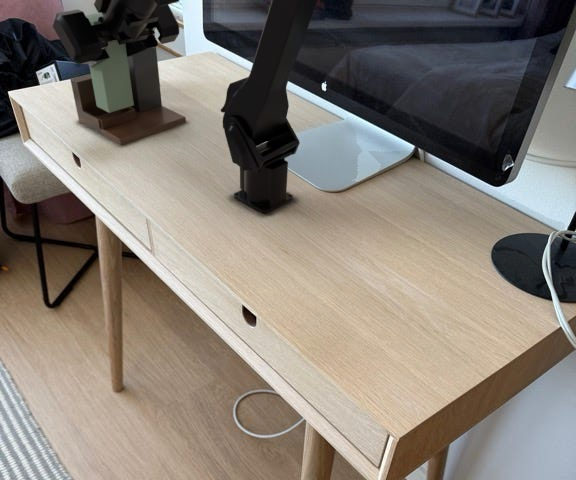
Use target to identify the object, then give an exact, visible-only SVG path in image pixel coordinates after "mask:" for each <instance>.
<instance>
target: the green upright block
mask: <svg viewBox="0 0 576 480" xmlns="http://www.w3.org/2000/svg"><path fill="white" fill-rule="evenodd" d="M85 16H86V18H88V19H89V21H90V23H91V25H96V24H99V23H98V21H97V19H98V17H103V15H102V13H98V12H97V13H92V14H86V15H85ZM105 50H106V51H107V53H108V55H109V57H110V58H109V59H107V60H105V61H103V62H101V63H99V64H98V65H96V66H93V67H90V66H89V65H88V66H89V71H90V74H91V78H92V83H93V88H94V94H95V99H96V105H97V107H99V108H101V109H103V110H105V111H107V112H108V113H110V112H114V111H117V110H120V109H123V108H127V107H130V106H133V105H134V103H133V95H132V88H131V81H130V74H129V66H128V59H127V52H126V45H125V44H122V45H119V43H118V42H117V41H115V42H110V43H108V47H107V48H106V49H105Z"/></svg>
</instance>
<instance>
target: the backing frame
mask: <svg viewBox="0 0 576 480" xmlns="http://www.w3.org/2000/svg"><path fill="white" fill-rule="evenodd" d="M153 31H154V32H155V30H153ZM154 36H155V37H156V33H155V34H154ZM127 59H128V66H129V74H130V81H131V88H132V95H133V103H134V105H133V106H130V107H127V108H123V109H120V110H117V111H114V112H110V113H108V112H107V111H105V110H103V109H101V108H99V107H97V105H96V99H95V94H94V88H93V83H92V78H91V73H88V74H84V75H80V76H76V77H72V78H70V79H69V80H70V85H71V89H72V95H73V99H74V104H75V108H76V114H77V118H78V122H79V123H80V124H82V125H84V126H86V127H88V128H90V130H93V131H95V132H97V133H99V134H100V135H102V136H104V137H106V138H108V139H109V140H111V141H113V142H115V143H117V144H118V145H120V146H123V145H125V144H127V143H131V142H134V141H137V140H139V139H143V138H145V137H148V136H151V135H154V134H157V133H159V132H163V131H165V130H168V129H171V128H174V127H177V126H180V125H183V124H186V123H187V117H186V116H184V115H182V114H181V113H178V112H176V111H175V110H172V109H170V108H168V107H165V106H163V101H162V91H161V83H160V73H159V72H160V71H159V63H158V52H157V47H154V48H151V49H148V50H146V51H143V52H140V53H138V54H135V55H132V56H130V57H127Z"/></svg>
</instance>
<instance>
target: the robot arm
mask: <svg viewBox="0 0 576 480" xmlns="http://www.w3.org/2000/svg"><path fill="white" fill-rule="evenodd" d="M318 1H319V0H271V2H270V6H269V8H268V13H267V15H266V19H265V22H264V25H263V28H262V32H261V35H260V39H259V42H258V44H257V49H256V53H255V56H254V59H253V62H252V66H251V69H250V72H249V75H248V76H247V77H244V78H241V79H239V80H236V81H233V82H230V83H229V85H228V87H227V89H226V95H225V96H226V97H225V102H224V104H223V106H222V108H220V113H223V116H222V128H223V131H224V136H225V139H226V142H227V147H228V150H229V154H230V159H231V161H232V163H233V164H234V165H235V164H236V165H237V166H238V167H239V189H240V190H239V191H237V192H234V193H233V198H234V199H235V200H236V201H239V202H240V203H243V204H245V205H246V206H248V207H250V208H252V209H254V210H256V211H257V212H259V213H261V214H267V213H269V212H271V211H273V210H275V209H277V208H279V207H281V206H284V205H285V204H287V203H289V202H291V201H293V200H294V195H293V194H292V193H289V192H287V189H288V188H287V187H288V169H289V161H287V160H286V158H288V157H290V156H293V155H295V154H296V153H297V151H298V148H299V146H300V143H301V142H300V139H299V138H298V136H297V135H296V132H295V131H294V129H293V127H292V125H291V123H290V121H289V120H288V118H287V116H288V113H289V107H290V105H289V104H290V103H289V98H288V93H287V87H288V83H289V81H290V77H291V74H292V72H293V69H294V66H295V64H296V61H297V59H298V57H299V56H298V55H299V53H300V50H301V47H302V45H303V42H304V39H305V38H306V37H305V36H306V33H307V31H308V28H309V26H310V23H311V21H312V17H313V15H314V12H315V9H316V6H317V5H318ZM179 2H180V0H95V1H94V3H93V6H94V8H95V10H96V11H97V13H102V15H103V17H98V19H97V21H98V23H99V24H96V25H91V23H90V21H89V19H88V18H86V15H85V12H84V11H83V10H80V9H73V10H66V11H61V12H56V15H55V17H54V20H53V23H52V28H53V30H54V32H55V33H56V36H57V37H58V39H59V41H60V42H61V44H62V46H63V47H64V49H65V51H66V52H67V55H68V56H69V58H70V59H71V61H72V62H73V63H75V64H77V65H82V64H85V63H87V65H88V66H90V67H93V66H96V65H98V64H99V63H101V62H103V61H105V60H107V59H109V58H110V57H109V55H108V53H107V51H106V50H105V49H106V48H107V47H108V43H110V42H115V41H117V42H118V43H119V45H122V44H125V45H126V52H127V57H130V56H132V55H135V54H138V53H140V52H143V51H146V50H148V49H151V48H154V47H156V48H157V47H158V46H159V43H160V44H161V45H165V44H169V43H172V42H175V41H176V40H177V38H178V37H179V35H180V24H179V22H178V20H177V18H176V16H175V15H174V13H173V10H172V9H171V7H170V5H172V4H175V3H179ZM153 30H154V31H153ZM156 30H157V32H158V35H159V36H157V38H156V32H155V31H156ZM154 34H155V36H154ZM90 67H89V68H90Z"/></svg>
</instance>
